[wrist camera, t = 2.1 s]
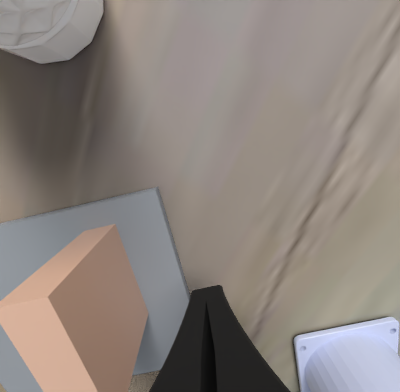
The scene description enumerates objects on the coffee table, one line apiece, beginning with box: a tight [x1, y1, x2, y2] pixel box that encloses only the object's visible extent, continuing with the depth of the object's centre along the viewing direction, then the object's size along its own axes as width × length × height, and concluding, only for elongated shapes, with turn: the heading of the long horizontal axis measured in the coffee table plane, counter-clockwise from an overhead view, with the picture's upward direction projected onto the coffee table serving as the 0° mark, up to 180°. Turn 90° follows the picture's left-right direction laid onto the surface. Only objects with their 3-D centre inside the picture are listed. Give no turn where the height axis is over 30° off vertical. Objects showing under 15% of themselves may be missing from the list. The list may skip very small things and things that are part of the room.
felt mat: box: [0, 187, 190, 392], centre depth 15 cm, size 14×16×1 cm
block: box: [0, 224, 148, 392], centre depth 11 cm, size 7×2×6 cm, turn 13°
